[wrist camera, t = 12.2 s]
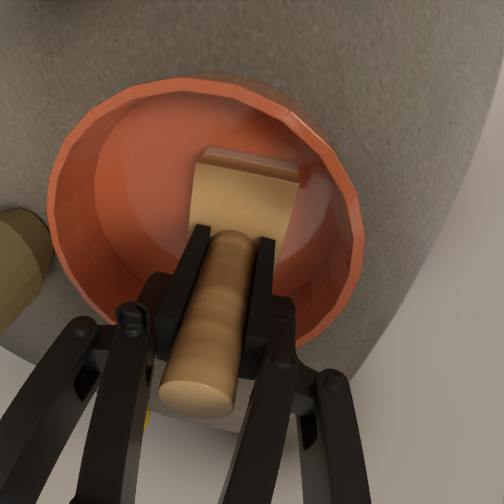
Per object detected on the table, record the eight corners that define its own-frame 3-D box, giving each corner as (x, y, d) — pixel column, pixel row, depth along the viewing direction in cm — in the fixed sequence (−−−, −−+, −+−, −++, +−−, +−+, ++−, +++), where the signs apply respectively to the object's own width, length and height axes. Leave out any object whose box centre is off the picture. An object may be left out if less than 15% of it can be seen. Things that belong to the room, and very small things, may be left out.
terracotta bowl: (300, 32, 14) (306, 19, 9) (365, 283, 22) (379, 340, 18) (57, 141, 18) (5, 171, 14) (161, 321, 27) (141, 370, 22)
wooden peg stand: (209, 144, 17) (105, 287, 7) (297, 163, 17) (312, 333, 7) (194, 270, 22) (138, 430, 12) (264, 285, 22) (246, 454, 12)
